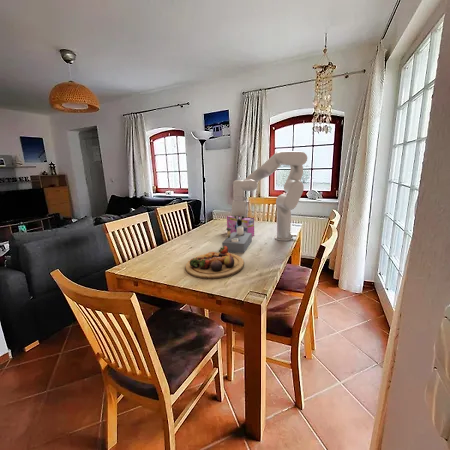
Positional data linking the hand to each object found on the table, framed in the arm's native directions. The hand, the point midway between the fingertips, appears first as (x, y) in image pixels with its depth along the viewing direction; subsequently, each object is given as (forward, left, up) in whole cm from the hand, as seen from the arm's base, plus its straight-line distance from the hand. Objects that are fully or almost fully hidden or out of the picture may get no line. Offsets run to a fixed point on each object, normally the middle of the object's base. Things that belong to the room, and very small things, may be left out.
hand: (239, 225), depth 168 cm
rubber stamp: (+6, +7, -6) cm, 11 cm away
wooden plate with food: (+4, +41, -13) cm, 43 cm away
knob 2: (0, 0, -8) cm, 8 cm away
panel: (0, +7, -12) cm, 14 cm away
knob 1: (0, +14, -12) cm, 18 cm away
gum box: (+5, -22, -13) cm, 26 cm away
